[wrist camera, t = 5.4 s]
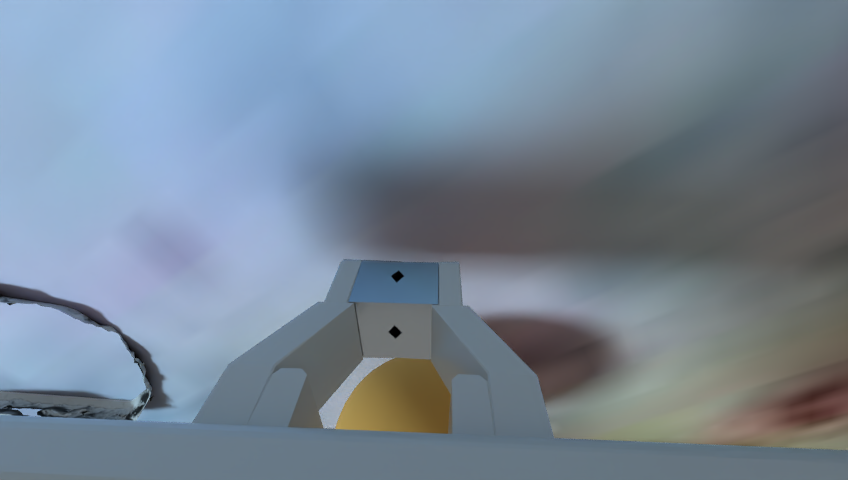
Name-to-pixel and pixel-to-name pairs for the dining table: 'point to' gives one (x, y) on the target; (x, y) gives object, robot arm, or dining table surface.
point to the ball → (399, 399)
